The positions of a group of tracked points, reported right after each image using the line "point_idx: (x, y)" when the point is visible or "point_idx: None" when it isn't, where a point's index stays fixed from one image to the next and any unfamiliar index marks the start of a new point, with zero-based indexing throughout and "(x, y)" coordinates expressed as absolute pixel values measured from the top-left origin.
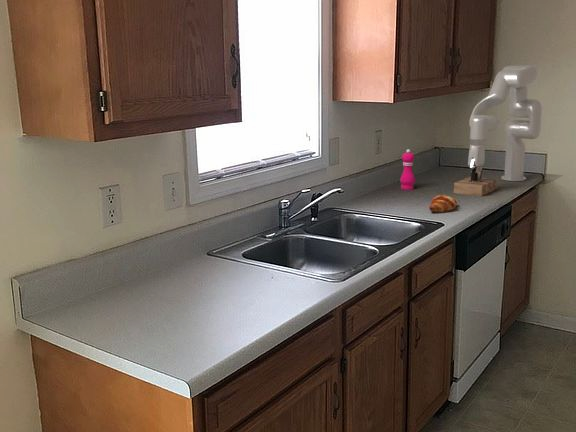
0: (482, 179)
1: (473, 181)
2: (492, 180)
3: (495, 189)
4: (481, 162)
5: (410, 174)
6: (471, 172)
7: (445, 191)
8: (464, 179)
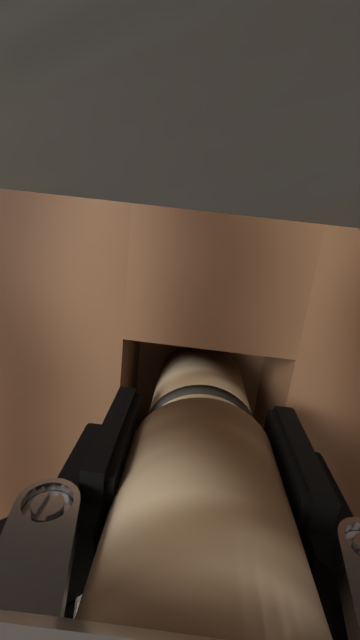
0: (357, 471)
1: (151, 404)
2: None
3: None
4: None
5: None
6: (44, 487)
7: (24, 61)
8: (265, 239)
